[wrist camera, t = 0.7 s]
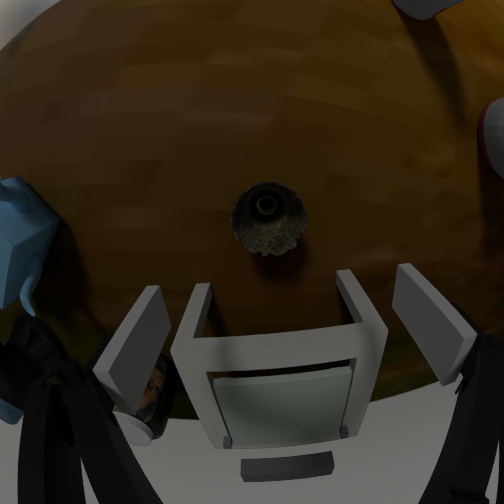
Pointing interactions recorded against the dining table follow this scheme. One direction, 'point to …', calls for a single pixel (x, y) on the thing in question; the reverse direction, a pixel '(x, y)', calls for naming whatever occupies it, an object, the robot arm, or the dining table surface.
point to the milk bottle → (424, 7)
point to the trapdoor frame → (280, 358)
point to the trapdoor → (284, 418)
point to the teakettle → (23, 240)
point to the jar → (151, 405)
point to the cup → (268, 219)
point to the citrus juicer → (493, 135)
